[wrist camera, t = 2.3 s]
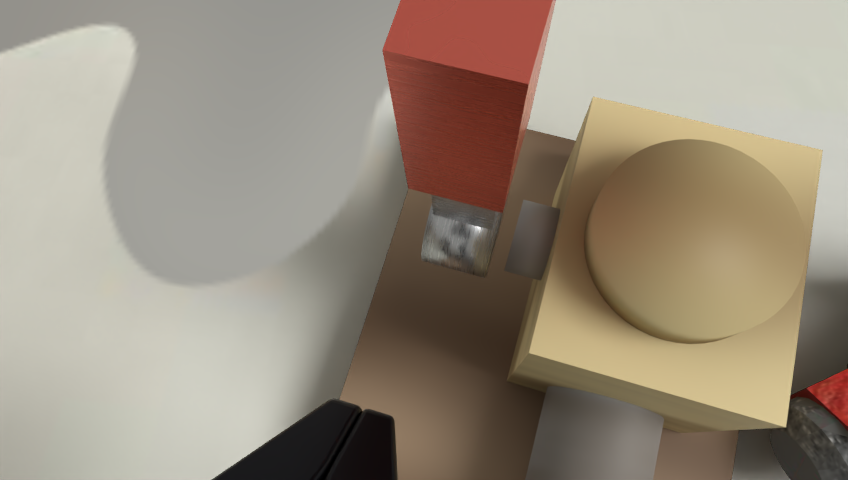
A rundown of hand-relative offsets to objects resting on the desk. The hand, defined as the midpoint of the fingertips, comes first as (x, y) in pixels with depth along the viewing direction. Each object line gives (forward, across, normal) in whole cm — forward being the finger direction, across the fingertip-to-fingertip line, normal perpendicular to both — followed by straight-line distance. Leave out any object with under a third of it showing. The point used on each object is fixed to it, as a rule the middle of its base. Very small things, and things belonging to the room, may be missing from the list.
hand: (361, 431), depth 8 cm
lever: (+9, 0, +2) cm, 9 cm away
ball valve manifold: (+10, -3, +7) cm, 13 cm away
